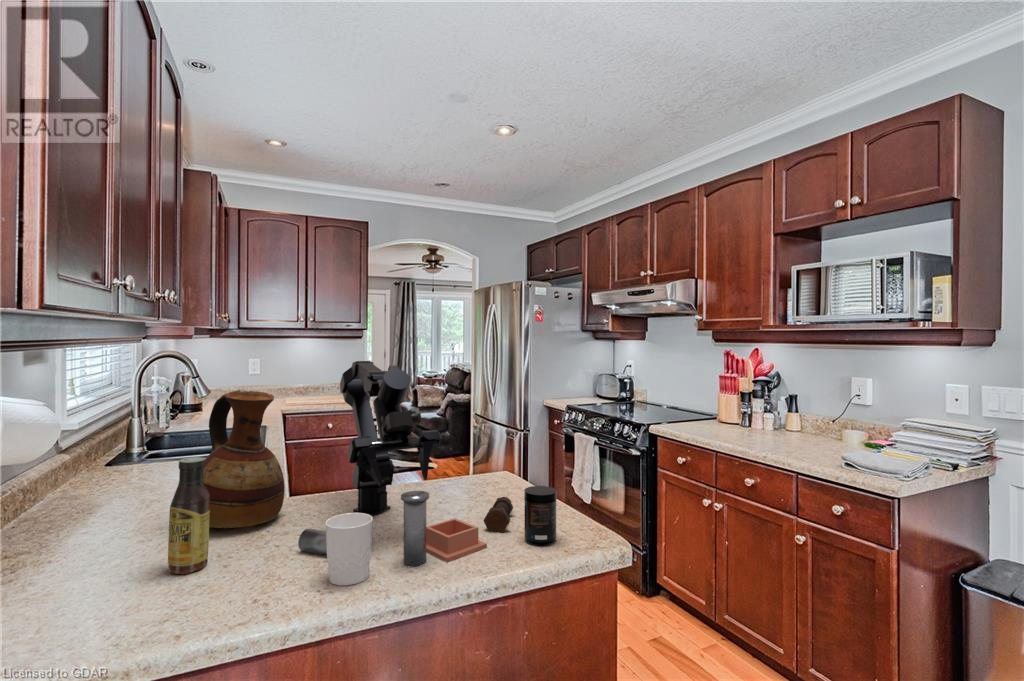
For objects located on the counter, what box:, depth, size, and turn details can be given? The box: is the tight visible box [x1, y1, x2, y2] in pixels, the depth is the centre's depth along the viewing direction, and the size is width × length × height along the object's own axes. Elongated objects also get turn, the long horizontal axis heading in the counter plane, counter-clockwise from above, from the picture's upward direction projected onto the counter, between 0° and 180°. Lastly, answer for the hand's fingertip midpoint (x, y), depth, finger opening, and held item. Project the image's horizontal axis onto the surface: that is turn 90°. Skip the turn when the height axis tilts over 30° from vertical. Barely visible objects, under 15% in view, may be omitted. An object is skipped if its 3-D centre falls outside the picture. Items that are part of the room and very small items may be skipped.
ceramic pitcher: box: [203, 390, 285, 529], centre depth 117 cm, size 20×20×30 cm
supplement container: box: [523, 485, 558, 547], centre depth 107 cm, size 7×7×10 cm
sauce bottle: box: [167, 456, 210, 575], centre depth 93 cm, size 6×6×20 cm
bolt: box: [483, 496, 514, 534], centre depth 119 cm, size 6×5×15 cm
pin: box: [298, 528, 327, 556], centre depth 100 cm, size 12×4×4 cm, turn 71°
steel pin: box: [400, 490, 430, 568], centre depth 96 cm, size 5×5×13 cm
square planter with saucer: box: [426, 517, 488, 563], centre depth 103 cm, size 10×10×4 cm
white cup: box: [325, 512, 374, 586], centre depth 90 cm, size 8×8×10 cm
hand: (403, 481), depth 103 cm, fingers open, 9 cm apart
